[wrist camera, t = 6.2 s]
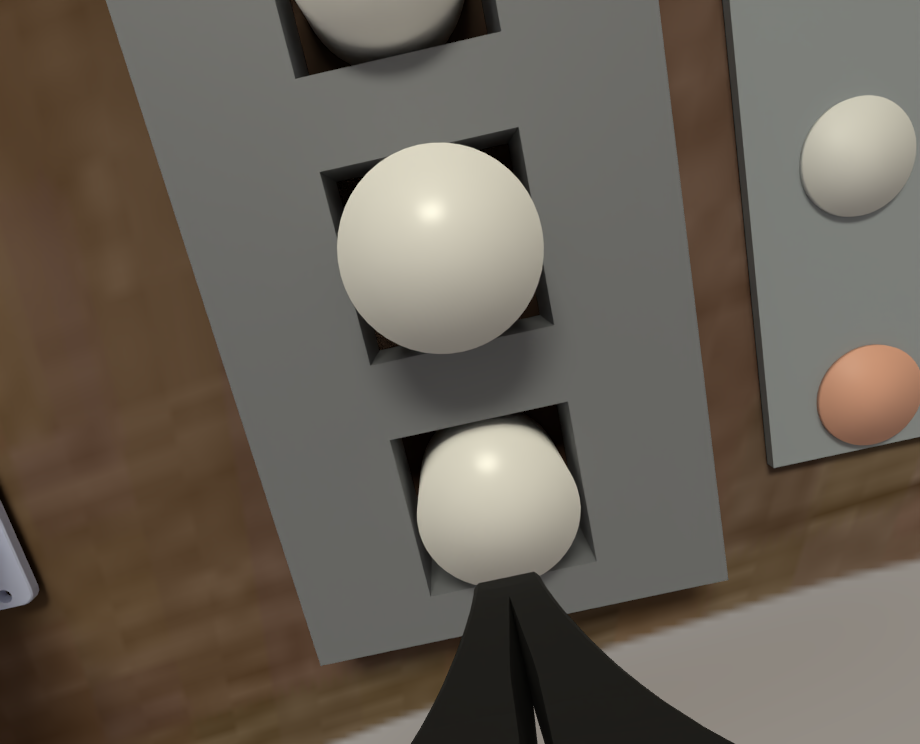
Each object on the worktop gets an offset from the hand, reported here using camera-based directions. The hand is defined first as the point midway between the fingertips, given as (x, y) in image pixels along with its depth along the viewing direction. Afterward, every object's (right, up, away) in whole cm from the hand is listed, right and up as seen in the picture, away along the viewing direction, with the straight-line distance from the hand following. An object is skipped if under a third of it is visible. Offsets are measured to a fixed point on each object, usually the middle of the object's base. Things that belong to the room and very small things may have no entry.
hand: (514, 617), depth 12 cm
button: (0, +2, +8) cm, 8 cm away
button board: (-2, +9, +6) cm, 11 cm away
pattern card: (+11, +12, +6) cm, 18 cm away
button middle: (-2, +9, +5) cm, 10 cm away
